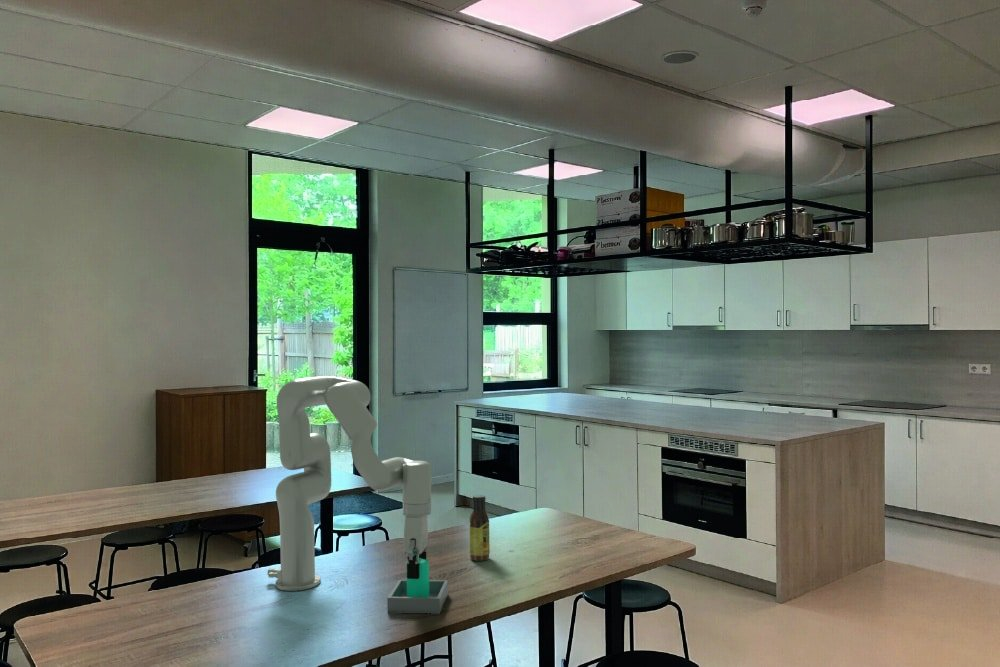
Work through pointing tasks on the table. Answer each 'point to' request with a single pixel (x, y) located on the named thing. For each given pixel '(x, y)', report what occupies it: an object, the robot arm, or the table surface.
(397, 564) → the table surface
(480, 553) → the sauce bottle
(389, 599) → the box
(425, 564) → the candle
